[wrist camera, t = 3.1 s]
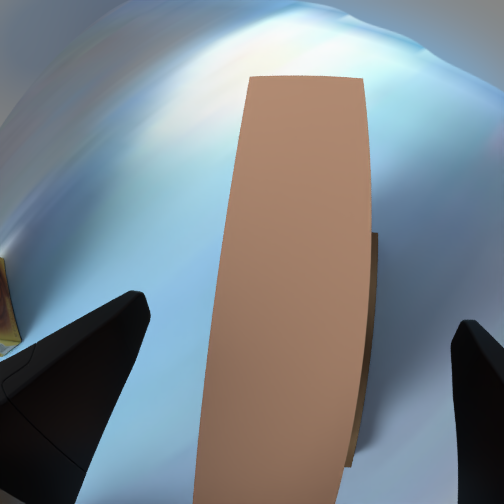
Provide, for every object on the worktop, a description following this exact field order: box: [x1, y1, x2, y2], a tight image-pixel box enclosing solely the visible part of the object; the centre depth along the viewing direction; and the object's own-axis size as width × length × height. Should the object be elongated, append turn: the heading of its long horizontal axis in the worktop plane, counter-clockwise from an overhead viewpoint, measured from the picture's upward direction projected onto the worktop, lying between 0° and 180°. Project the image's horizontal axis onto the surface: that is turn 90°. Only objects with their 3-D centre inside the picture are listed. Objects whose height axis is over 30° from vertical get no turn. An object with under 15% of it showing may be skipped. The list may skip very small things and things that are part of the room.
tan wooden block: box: [193, 76, 371, 504], centre depth 7 cm, size 12×2×6 cm, turn 173°
